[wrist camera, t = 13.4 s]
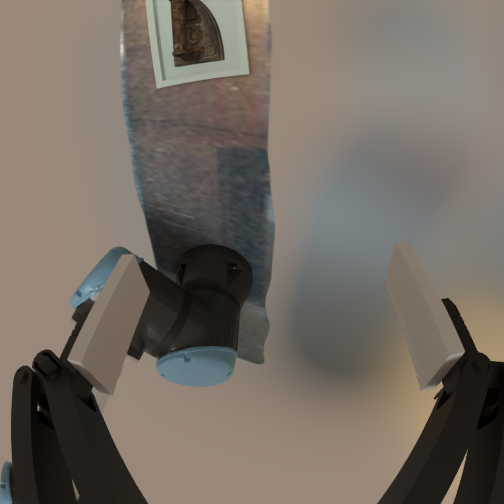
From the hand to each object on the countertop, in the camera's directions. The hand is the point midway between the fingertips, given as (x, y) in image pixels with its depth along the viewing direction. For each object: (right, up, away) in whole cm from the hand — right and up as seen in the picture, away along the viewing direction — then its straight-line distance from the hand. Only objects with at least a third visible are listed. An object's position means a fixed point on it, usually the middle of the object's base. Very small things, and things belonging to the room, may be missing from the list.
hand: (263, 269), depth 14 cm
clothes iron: (-8, +31, +15) cm, 36 cm away
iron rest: (-8, +32, +16) cm, 37 cm away
